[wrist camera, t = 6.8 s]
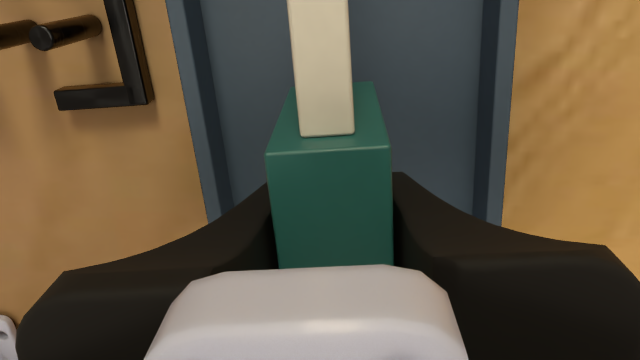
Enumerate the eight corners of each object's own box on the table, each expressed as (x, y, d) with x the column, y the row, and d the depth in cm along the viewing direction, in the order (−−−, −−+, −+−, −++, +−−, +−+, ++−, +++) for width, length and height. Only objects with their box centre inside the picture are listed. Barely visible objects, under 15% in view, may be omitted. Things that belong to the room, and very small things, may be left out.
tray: (480, 246, 22) (497, 279, 20) (232, 258, 23) (221, 292, 20) (521, -423, 13) (559, -504, 11) (122, -370, 14) (79, -434, 12)
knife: (380, 272, 15) (397, 405, 11) (309, 275, 15) (296, 407, 11) (356, -396, 9) (371, -750, 5) (240, -381, 9) (147, -709, 5)
